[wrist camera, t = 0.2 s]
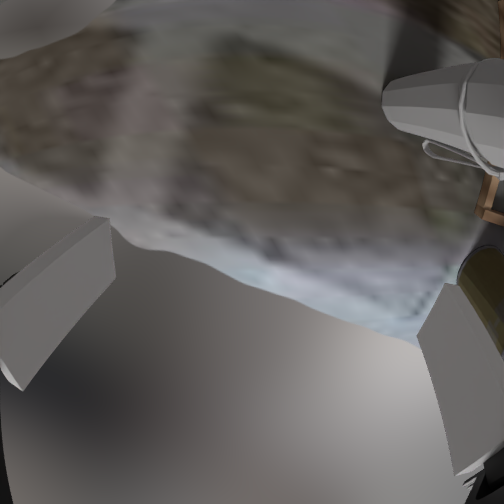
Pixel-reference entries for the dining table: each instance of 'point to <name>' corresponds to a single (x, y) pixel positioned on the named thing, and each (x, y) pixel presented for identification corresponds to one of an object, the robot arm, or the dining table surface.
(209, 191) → the dining table surface
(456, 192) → the dining table surface
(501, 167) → the water bottle
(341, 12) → the dining table surface
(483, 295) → the canister
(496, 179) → the brown piece
